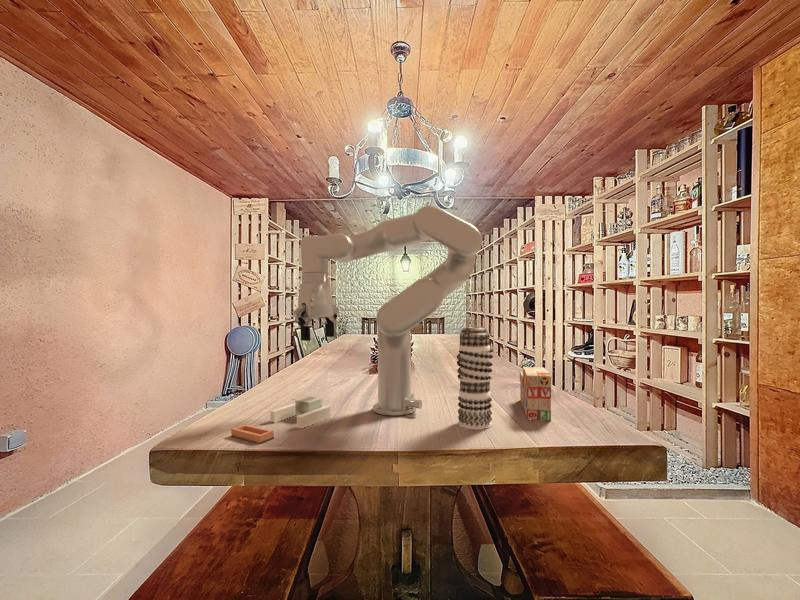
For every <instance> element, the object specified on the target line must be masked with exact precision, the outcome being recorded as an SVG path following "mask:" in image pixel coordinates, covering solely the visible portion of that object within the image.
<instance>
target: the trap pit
mask: <svg viewBox="0 0 800 600" xmlns="http://www.w3.org/2000/svg"><path fill="white" fill-rule="evenodd" d="M230 431H231V435H230V436H231V437H232V438H237V439H240V440H244V441H247V442H250V443H255V444H258V445H261V444H263V443H266V442H269V441H271V440H274V439H275V436H274V435H275V434H274V432H275V431H274V430H271V429H267V428H262V427H257V426H254V425H250V424H242V425H239V426H235V427H233V428H230Z"/></svg>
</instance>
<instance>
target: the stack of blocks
mask: <svg viewBox="0 0 800 600" xmlns="http://www.w3.org/2000/svg"><path fill="white" fill-rule="evenodd" d="M519 383H520V384H519V385H520V387H519V388H520V391H519V392H520V403H521V405H522V406H523V407H522V409H523V408H524V409H523V411H525V412H524V416H525V415H526V416H525V418H527V419H531V420H530V421H533V420H546V421H545V422H551V421H552V408H551V407H552V403H551V402H552V375H551V374H550V372H549V371H548V370H547V369H546V368H545V367H543V366H541V367H538V366H533V367H532V366H522V371H521V370H520V371H519ZM527 419H526V420H527Z"/></svg>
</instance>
